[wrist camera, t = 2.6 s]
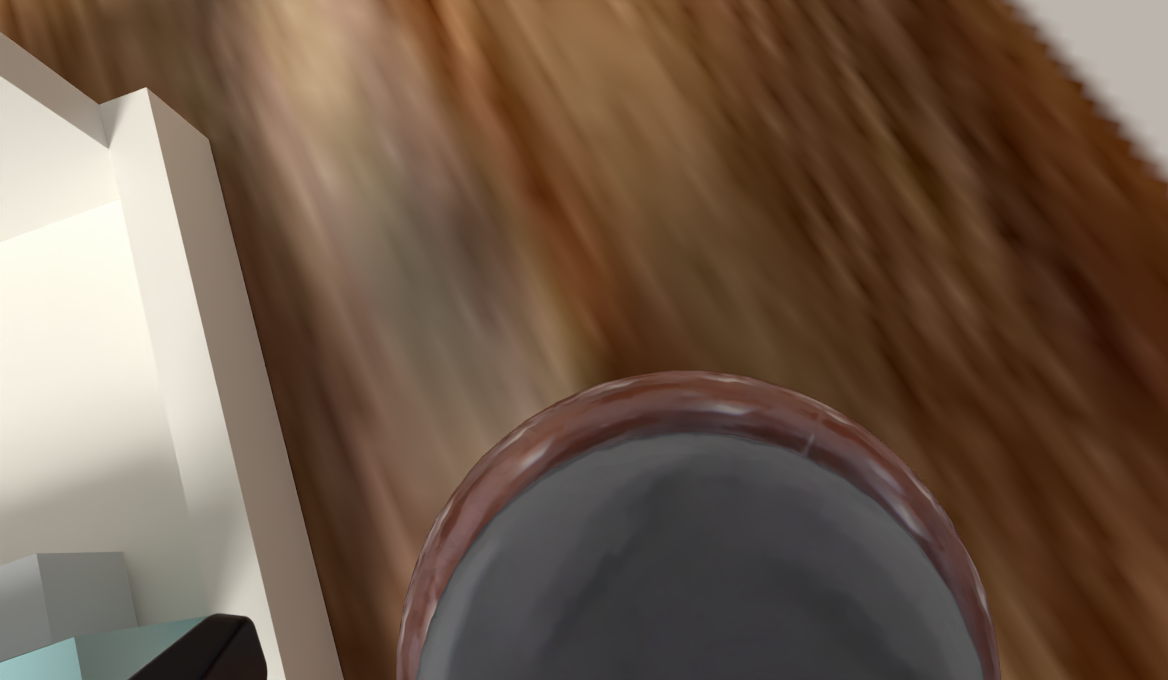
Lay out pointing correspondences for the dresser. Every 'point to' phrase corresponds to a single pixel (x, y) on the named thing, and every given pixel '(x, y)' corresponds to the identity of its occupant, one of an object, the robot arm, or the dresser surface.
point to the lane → (141, 370)
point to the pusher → (75, 619)
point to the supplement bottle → (694, 548)
